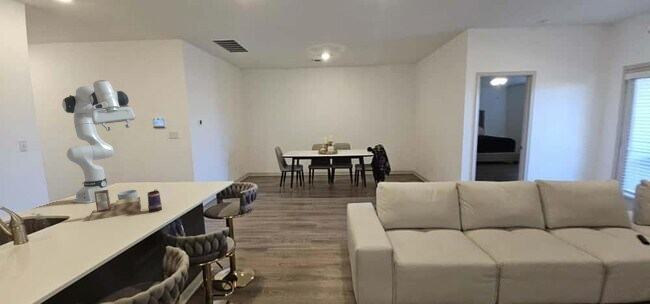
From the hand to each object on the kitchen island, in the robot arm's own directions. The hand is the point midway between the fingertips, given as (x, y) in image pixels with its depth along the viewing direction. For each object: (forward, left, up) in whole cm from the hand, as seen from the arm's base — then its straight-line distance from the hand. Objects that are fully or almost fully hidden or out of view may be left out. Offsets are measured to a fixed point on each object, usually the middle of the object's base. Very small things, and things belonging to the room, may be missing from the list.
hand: (118, 129), depth 165 cm
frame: (-13, -4, -47) cm, 49 cm away
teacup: (-17, +20, -51) cm, 57 cm away
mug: (+12, +6, -51) cm, 53 cm away
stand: (-8, -1, -50) cm, 51 cm away
